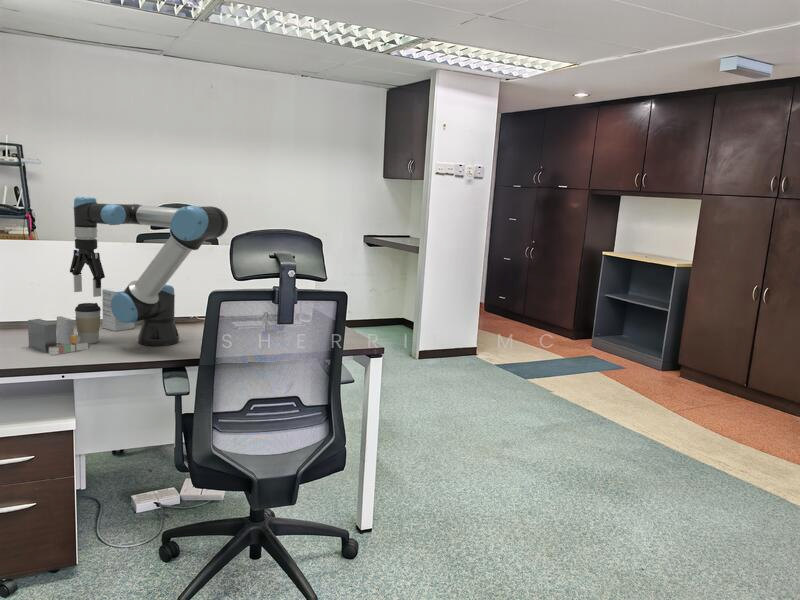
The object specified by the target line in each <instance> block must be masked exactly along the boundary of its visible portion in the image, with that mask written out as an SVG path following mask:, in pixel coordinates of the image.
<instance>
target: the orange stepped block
mask: <svg viewBox="0 0 800 600" xmlns="http://www.w3.org/2000/svg"><path fill="white" fill-rule="evenodd" d="M70 342H71V343H78V342H77V337H76V336H75V335H71V337H70Z"/></svg>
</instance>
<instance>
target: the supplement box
mask: <svg viewBox="0 0 800 600" xmlns="http://www.w3.org/2000/svg"><path fill="white" fill-rule="evenodd" d="M126 288H127V287H115V288H103V289H102V288H101V297H102V328H103V329H105V330H106V329H107V330H110V331H113V332H119V331H124V330H131V329H132V330H133V329H135V328H136V327H135V323H136V322H134V323H122V322H120V321H119V320H117V319H116V318H115V316H114V315H113V313H112V310H111V299H112V297H113V296H114V295H115V294H116V293H118V292H123V291H124V290H125V289H126Z"/></svg>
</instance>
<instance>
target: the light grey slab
mask: <svg viewBox="0 0 800 600" xmlns="http://www.w3.org/2000/svg"><path fill="white" fill-rule="evenodd" d="M74 325H75V324H74V319H71V318H68V317H64V316H61V315H60V316H59V315H58V316H56V336H57V344H59V345H63V344H72V343H71V342H70V337H71V335H75V336H76V337H77V343H79V341H80V336H79V335H78V334H75V330H74V329H75V327H74Z"/></svg>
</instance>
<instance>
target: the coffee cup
mask: <svg viewBox="0 0 800 600" xmlns="http://www.w3.org/2000/svg"><path fill="white" fill-rule="evenodd" d="M101 310H102V309H101V306H99V304H98V302H95V303H93V302H84V303H83V302H81V303H78V304H77V305H76V307H75V309H74V311H75V316H74V317H75V322H76V323H75V325H76V331H77V335H79V336H80V341H79V342H88V345H91V344H96V343H98V342H99V338H100V337H99V336H100V335H99V334H100V327H101ZM79 342H78V343H79Z"/></svg>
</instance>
